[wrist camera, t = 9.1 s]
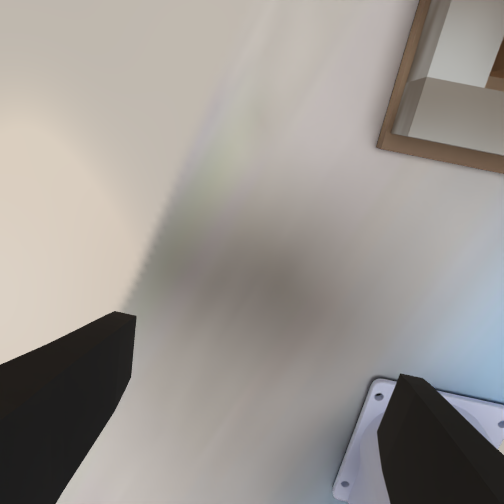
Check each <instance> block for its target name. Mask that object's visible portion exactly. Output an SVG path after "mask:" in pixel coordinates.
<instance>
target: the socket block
mask: <svg viewBox="0 0 504 504" xmlns="http://www.w3.org/2000/svg"><path fill="white" fill-rule="evenodd" d="M503 37H504V0H420V1H419V4H418V8H417V11H416V14H415V18H414V21H413V25H412V28H411V31H410V35H409V38H408V41H407V45H406V48H405V52H404V55H403V58H402V62H401V65H400V68H399V72H398V75H397V79H396V82H395V85H394V89H393V92H392V95H391V99H390V102H389V106H388V109H387V112H386V116H385V119H384V122H383V126H382V129H381V133H380V136H379V139H378V143H377V146H376V147H377V148H380V149H384V150H389V151H394V152H399V153H404V154H409V155H414V156H418V157H423V158H428V159H433V160H438V161H443V162H448V163H453V164H458V165H463V166H468V167H473V168H478V169H483V170H488V171H493V172H498V173H502V174H504V78H498V77H493V76H489V75H490V72H491V69H492V67H493V64H494V61H495V59H496V56H497V53H498V51H499V48H500V45H501V43H502V40H503Z"/></svg>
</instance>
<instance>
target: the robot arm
mask: <svg viewBox="0 0 504 504" xmlns="http://www.w3.org/2000/svg"><path fill="white" fill-rule="evenodd" d="M135 327H136V316H134V315H130V314H125V313H121V312H116V311H114V312H112V313H110V314H107V315H105V316H104V317H101V318H99V319H97V320H95V321H93V322H91V323H89V324H87V325H85V326H83V327H81V328H79V329H77V330H75V331H73V332H71V333H69V334H67V335H65V336H63V337H61V338H59V339H57V340H55V341H53V342H51V343H49V344H47V345H44V346H42V347H40V348H37V349H35V350H33V351H31V352H28V353H26V354H24V355H21V356H19V357H17V358H15V359H12V360H10V361H8V362H6V363H3V364H1V365H0V504H56V502H57V501H58V499H59V497H60V495H61V494H62V492H63V490H64V489H65V487H66V486H67V484H68V483H69V481H70V480H71V478H72V477H73V475H74V473H75V472H76V470H77V469H78V467H79V466H80V464H81V463H82V461H83V460H84V458H85V456H86V455H87V453H88V452H89V450H90V449H91V447H92V446H93V444H94V443H95V441H96V439H97V438H98V436H99V435H100V433H101V432H102V430H103V429H104V427H105V425H106V424H107V422H108V421H109V419H110V417H111V416H112V414H113V413H114V411H115V409H116V407H117V405H118V403H119V401H120V399H121V397H122V395H123V393H124V391H125V389H126V387H127V385H128V382H129V380H130V378H131V372H132V361H133V349H134V338H135ZM377 393H381V395H379V396H375V394H377ZM500 421H502V422H500ZM499 422H500V423H499ZM503 439H504V405H501V404H496V403H492V402H487V401H483V400H478V399H473V398H469V397H464V396H460V395H455V394H451V393H446V392H442V391H437V390H436V389H435V388H433V387H432V386H431V385H430V384H429V383H428V382H427V381H425V380H424V379H423V378H418V377H414V376H409V375H405V374H400V375H399V378H398V380H397V382H396V381H391V380H387V379H376V380H374V381H373V383H372V384H371V387H370V390H369V392H368V395H367V398H366V400H365V403H364V406H363V408H362V411H361V414H360V416H359V419H358V422H357V424H356V427H355V430H354V432H353V435H352V438H351V440H350V443H349V446H348V448H347V451H346V454H345V456H344V459H343V462H342V465H341V467H340V470H339V473H338V475H337V478H336V481H335V483H334V486H333V490H332V491H333V496H334V497H335V498H336V499H338V500H341V501H346V502H348V504H504V455H503V454H502V453H501V452H499V450H498V448H499V446H500V445H501V443H502V441H503Z"/></svg>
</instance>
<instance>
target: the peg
mask: <svg viewBox="0 0 504 504" xmlns="http://www.w3.org/2000/svg"><path fill="white" fill-rule="evenodd" d="M489 76H493V77H498V78H504V37H503V40H502V43H501V45H500V48H499V51H498V53H497V56H496V59H495V61H494V64H493V67H492V69H491V72H490V75H489Z"/></svg>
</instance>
